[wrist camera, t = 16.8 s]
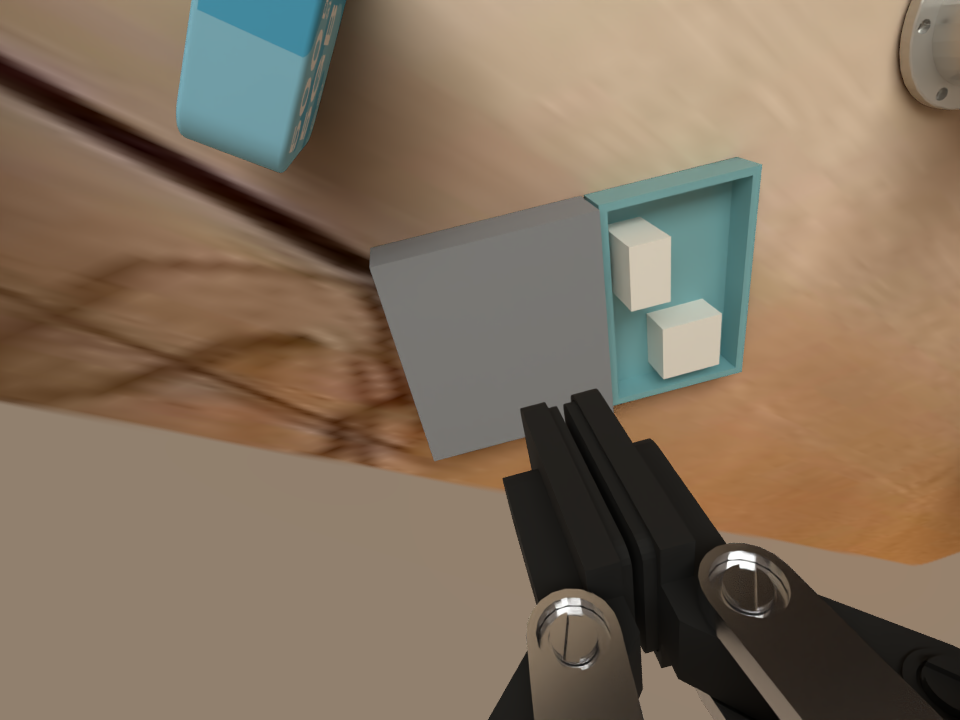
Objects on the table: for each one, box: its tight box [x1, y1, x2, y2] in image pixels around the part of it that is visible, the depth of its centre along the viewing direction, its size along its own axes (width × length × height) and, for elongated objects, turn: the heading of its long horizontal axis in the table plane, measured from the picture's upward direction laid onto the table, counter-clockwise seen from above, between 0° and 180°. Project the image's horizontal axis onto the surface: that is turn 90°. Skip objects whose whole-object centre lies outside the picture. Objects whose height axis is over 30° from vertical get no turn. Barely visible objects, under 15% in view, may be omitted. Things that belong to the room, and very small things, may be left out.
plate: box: [370, 196, 614, 461], centre depth 41 cm, size 16×18×4 cm
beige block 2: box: [646, 299, 722, 379], centre depth 44 cm, size 5×5×3 cm
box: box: [584, 157, 762, 406], centre depth 42 cm, size 12×18×3 cm, turn 11°
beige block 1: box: [608, 217, 671, 312], centre depth 38 cm, size 5×5×3 cm
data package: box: [176, 0, 346, 173], centre depth 25 cm, size 12×4×12 cm, turn 156°
